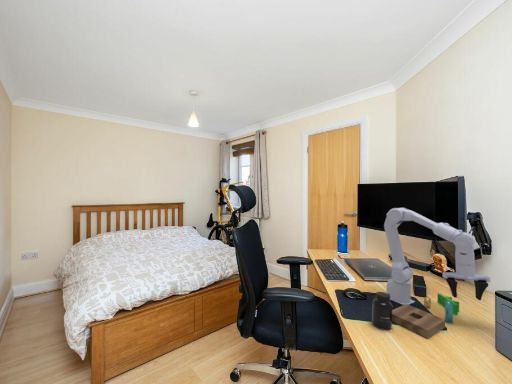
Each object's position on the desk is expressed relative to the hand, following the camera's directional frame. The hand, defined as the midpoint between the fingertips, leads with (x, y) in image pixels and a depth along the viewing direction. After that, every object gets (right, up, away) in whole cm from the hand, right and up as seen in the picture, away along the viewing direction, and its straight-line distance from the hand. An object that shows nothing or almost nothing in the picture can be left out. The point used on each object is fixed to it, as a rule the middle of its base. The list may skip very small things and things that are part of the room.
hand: (466, 297), depth 93 cm
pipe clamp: (+3, -10, +11) cm, 15 cm away
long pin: (-7, -10, 0) cm, 12 cm away
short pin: (-7, -10, +12) cm, 17 cm away
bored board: (-21, -10, -1) cm, 23 cm away
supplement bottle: (-35, -10, -3) cm, 36 cm away
